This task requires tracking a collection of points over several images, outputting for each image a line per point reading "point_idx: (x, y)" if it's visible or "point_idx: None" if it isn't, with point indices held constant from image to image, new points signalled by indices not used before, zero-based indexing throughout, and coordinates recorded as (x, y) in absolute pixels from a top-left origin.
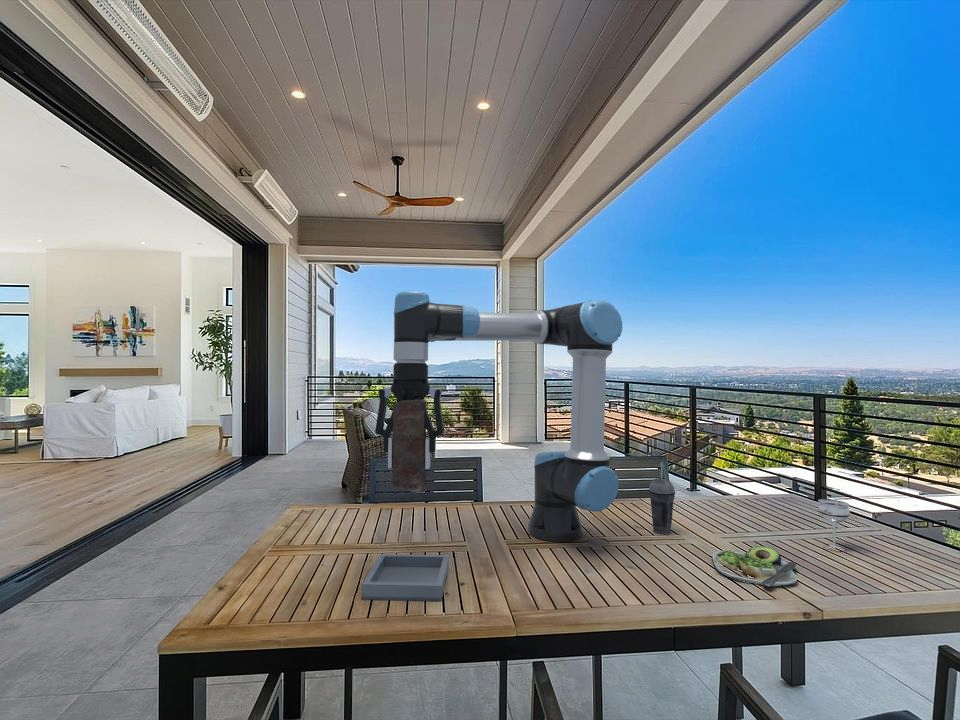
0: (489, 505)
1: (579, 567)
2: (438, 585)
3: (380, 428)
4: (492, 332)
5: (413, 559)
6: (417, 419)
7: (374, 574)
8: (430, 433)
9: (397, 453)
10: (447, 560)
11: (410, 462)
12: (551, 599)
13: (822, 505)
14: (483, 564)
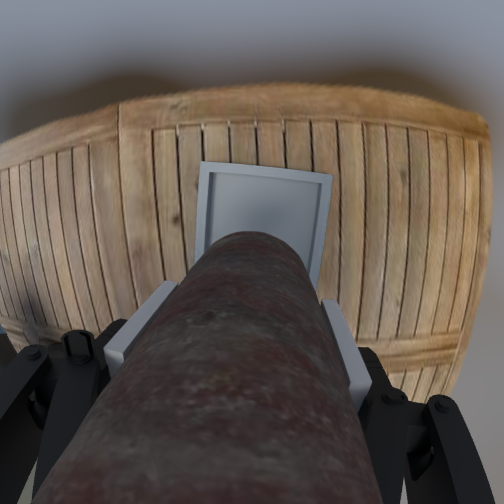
0: None
1: (41, 263)
2: (205, 162)
3: (438, 421)
4: None
5: None
6: (92, 423)
7: (317, 216)
8: (81, 366)
9: (302, 291)
10: (194, 262)
11: (231, 257)
12: (72, 171)
13: None
14: (147, 287)
